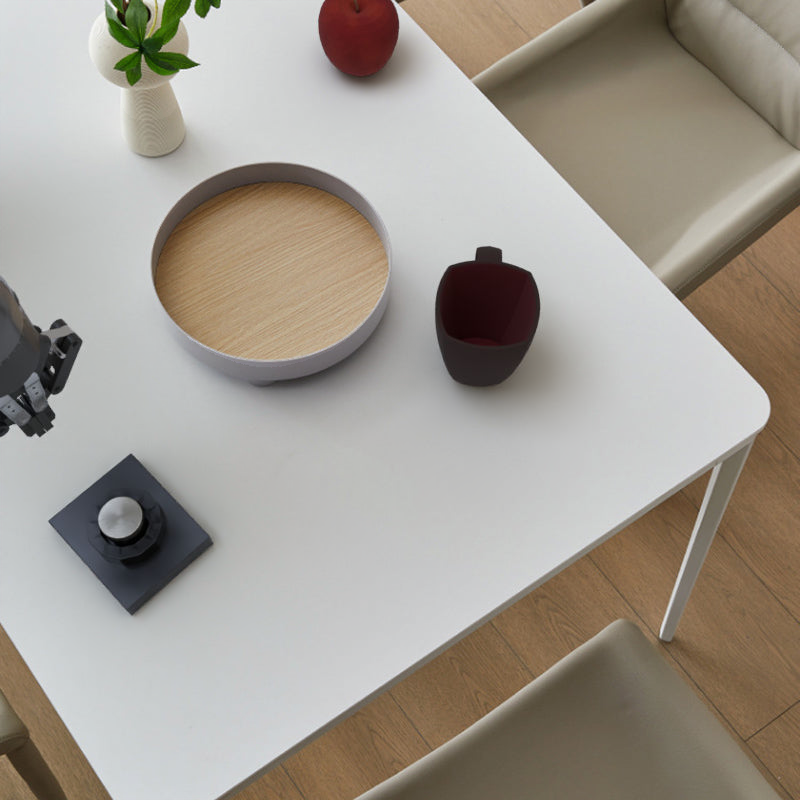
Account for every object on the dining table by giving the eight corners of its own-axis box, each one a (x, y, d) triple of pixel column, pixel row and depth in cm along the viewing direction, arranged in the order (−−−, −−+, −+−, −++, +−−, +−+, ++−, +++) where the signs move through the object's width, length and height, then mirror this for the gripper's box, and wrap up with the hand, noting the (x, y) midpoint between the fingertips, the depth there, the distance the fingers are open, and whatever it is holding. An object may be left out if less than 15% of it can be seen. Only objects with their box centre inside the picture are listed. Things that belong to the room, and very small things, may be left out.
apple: (410, 47, 125) (412, -18, 116) (380, 103, 121) (380, 40, 112) (339, 25, 127) (336, -41, 118) (308, 79, 123) (301, 16, 114)
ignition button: (94, 523, 95) (89, 516, 93) (128, 495, 96) (123, 488, 94) (121, 553, 94) (116, 546, 92) (155, 524, 95) (151, 517, 93)
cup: (427, 400, 105) (431, 345, 94) (436, 286, 111) (441, 221, 100) (523, 408, 104) (539, 354, 94) (527, 293, 110) (542, 229, 100)
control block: (54, 528, 98) (41, 514, 95) (135, 460, 102) (126, 445, 98) (131, 615, 95) (121, 605, 91) (213, 543, 98) (207, 530, 94)
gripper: (14, 234, 72) (77, 347, 88) (-152, 349, 68) (-54, 445, 83) (79, 302, 70) (131, 404, 85) (-87, 424, 66) (0, 508, 81)
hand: (39, 425), depth 84 cm, fingers closed
